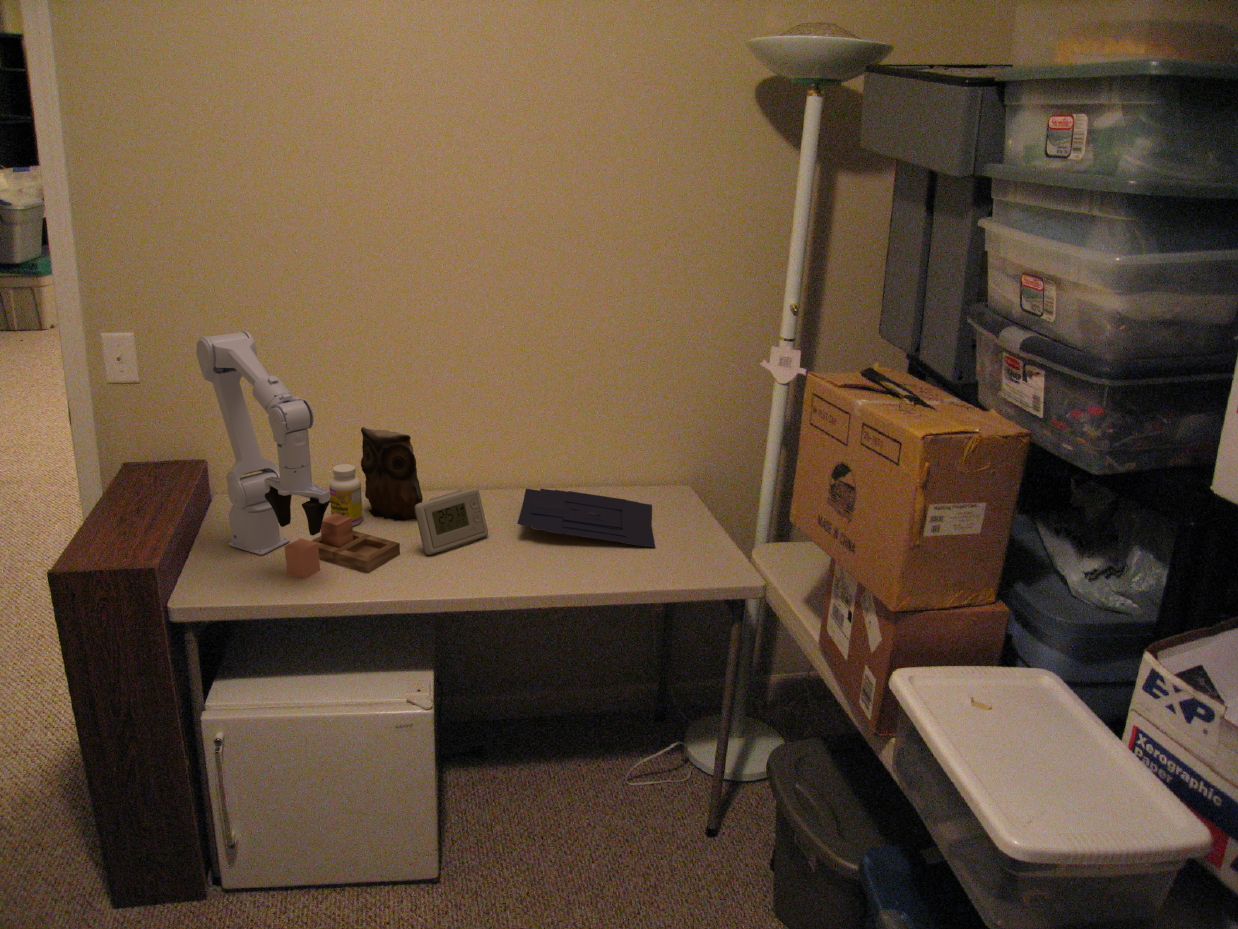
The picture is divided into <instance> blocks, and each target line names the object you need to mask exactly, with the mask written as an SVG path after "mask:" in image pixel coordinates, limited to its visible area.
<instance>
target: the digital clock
mask: <svg viewBox="0 0 1238 929" xmlns="http://www.w3.org/2000/svg"><path fill="white" fill-rule="evenodd" d="M483 507H484V506H483V503H482V498H481V493H480V490H479V488H478V487H470V488H467V489H464V490H462V489H460V490H458V491H457V490H456V491H455V492H451V493H446V494H443V495H440V496H437V497H433V498H430V499H429V500H426V501H422V503H418V504H417V505H415V514H416V518H417V520H416V521H417V523H416V524H417V527H418V530H419V535H420V539H421V544H422V547H423V552H424V554H425V555H428V556H430V555H434V554H437V553H443V552H446V551H449V550H453V549H455V548H459V547H462V546H465V545H468V544H471V543H474V542H476V541H477V540H479V539H483V538H485V537H487V536H488V534H489V530H488V525H487V520H486V517H485V516H486V515H485V512H484V508H483Z"/></svg>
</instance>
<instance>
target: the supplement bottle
mask: <svg viewBox="0 0 1238 929" xmlns="http://www.w3.org/2000/svg"><path fill="white" fill-rule="evenodd" d="M356 472H357V470H356V466H355V465H354V464H351V463H350V464H349V463H341V464H337V465H335V466H333V468H332V473H333V476H334V477H332V478H331V479H330V480H329V484H328V487H329V488H328V489H329V491H330V500H331V502H330V503H329V505H330V516H331V515H333V514H335V513H336V514H340V515H343V516H347V517H351V518H352V527H354V526H357V525H360V523H361V522H362V521H363V500H362V482H361V480H360V478H359V477H358V476H357V475H356Z"/></svg>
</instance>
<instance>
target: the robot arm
mask: <svg viewBox="0 0 1238 929" xmlns="http://www.w3.org/2000/svg"><path fill="white" fill-rule="evenodd" d="M195 353H196V357H197V361H198V364H199V368H200V372H201V374H202V376H203V379H204V380H205V381H208V382H210V383H211V384H212V385H213V389H214V392H215V395H216V399H217V402H218V406H219V408H220V412H221V414H222V419H223V422H224V426H225V429H226V433H227V435H228V439H229V442H230V445H231V449H232V452H233V455H234V459H235V463H234V464H233V465H232V466H231V468H230V469H229V470H228V472H227V473H226V475H225V479H226V484H227V485H226V486H227V495H228V497H229V501H230V502H231V505H232V506H231V507H230V510H229V513H228V522H229V531H230V538H231V541H229V542H228V543H227V544H228V546H230V547H234V548H237V549H240V550H242V551H243V550H244V551H246V552H250V553H252V554H253V553H254V554H256V555H260V556H264V555H265V554H268V553H269V552H271V551H274V550H276V549H278V548H279V547H281V546H284V545H285V544H289V543H290V539H289V538H287V537H283V536H281V535H280V527H281V528H285V527H286V526H289V525H290V524H291V520H292V519H291V518H292V516H291V515H292V513H291V504H292V503H291V502H292V498H293V497H292V496H299V497H303V498H307V499H309V500H307V501H305V502H303V503H301V507H302V508H303V510H304V513H305V515H306V520H307V527H308V532H309V534H310V536H316V535H317V534H319V533H320V534H321V525H322V520H323V519H324V518H325V517H324V516H325V514H326V511H327V509H328V507H329V505H330V502H331V500H330V490H327V489H324V488H323V487H321V486H320V485H318V484H316V483H315V482H314V481H313V477H312V475H313V474H312V464H311V463H312V462H311V454H310V452H311V451H310V450H311V449H310V439H309V438H310V437H309V429H311V428H312V427H313V425H314V421H315V420H314V413H313V409H312V407H311V405H310V403H309V402H308V401H307V399H305V398H300V396H294V395H293V394H292V392H291V391H290V390H289V388H288V387H286V385H285V384H284V382H283V381H282V380H281V379H280V378H279V377H278V376H276V375H270V374H269V373H268V372H267V370H266V369H265V367H264V366H263V364H262V362H261V361H260V360H259V358H258V357H257V353H258V352H257V345H256V342H255V338H254V337H253V336H252V334H251V333H249V332H248V331H247V330H242V331H240V332H232V333H224V334H218V335H212V336H205V335H204V336H201V337H199V338H198V341H197V343H196V351H195ZM242 377H243V378H244V379H245V380H246V381H247V382H248V383H249V384H250V385H251V386H252V397H253V398H254V399H255V400H256V401H257V403H259V405H260V406H261V408H262V409H263V410H264V411H265V413H266V414H267V415H268V416H267V417H268V423H269V427H270V428H271V431H272V437H273V440H274V442H275V443H276V448H277V457H278V460H277V461H278V466H277V463H276V462H274V461H272V460H270V459H269V458H267V457H264V456H263V455H262V454H261V451H260V447H259V443H258V439H257V436H256V434H255V430H254V426H253V424H252V419H251V417H250V412H249V409H248V406H247V403H246V400H245V396H244V393H243V389H242V387H241V383H240V382H241V379H242ZM256 472H257V473H256ZM258 472H259V473H258ZM252 473H255V474H252ZM248 474H251V475H248ZM244 475H246V476H244Z"/></svg>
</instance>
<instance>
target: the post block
mask: <svg viewBox="0 0 1238 929" xmlns="http://www.w3.org/2000/svg"><path fill="white" fill-rule="evenodd" d="M284 554H285V555H284V556H285V557H284V558H285V568H286V575H289V576H293V577H295V578H298V579H302V580H305V579H307V578H309V577H312V576H313V575H314V574H316V573H318V572H320V571H321V565H320V564H321V563H320V559H319V548H318V543H316V542H312V540H308V539H305V538H298V539H297V540H294V541H293V542H292V541H291V542H289V543H287V545H285V546H284Z"/></svg>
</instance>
